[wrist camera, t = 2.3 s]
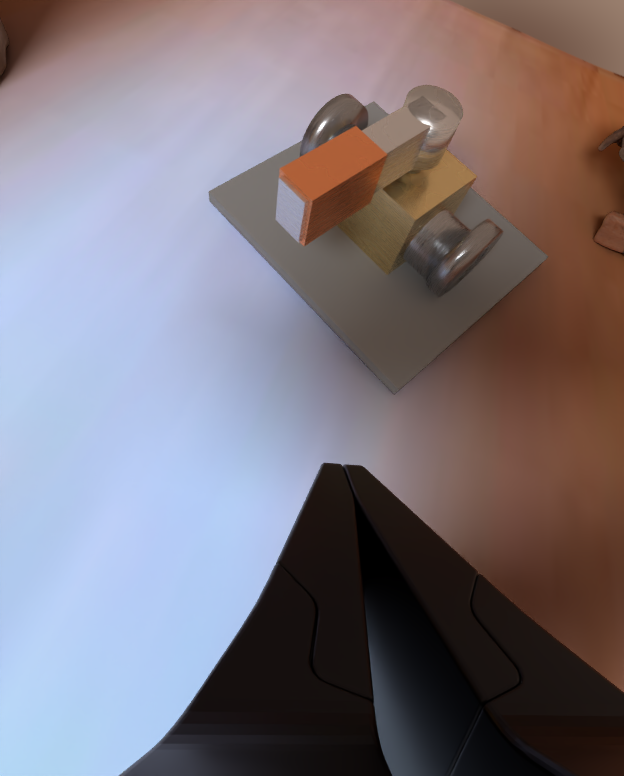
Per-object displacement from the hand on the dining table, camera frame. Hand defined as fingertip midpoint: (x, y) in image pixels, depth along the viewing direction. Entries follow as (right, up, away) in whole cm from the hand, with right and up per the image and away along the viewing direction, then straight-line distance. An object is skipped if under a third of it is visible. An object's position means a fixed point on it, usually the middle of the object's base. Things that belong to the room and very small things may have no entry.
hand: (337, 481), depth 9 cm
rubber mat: (+4, +12, +20) cm, 24 cm away
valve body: (+4, +12, +20) cm, 24 cm away
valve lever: (+2, +12, +13) cm, 18 cm away
